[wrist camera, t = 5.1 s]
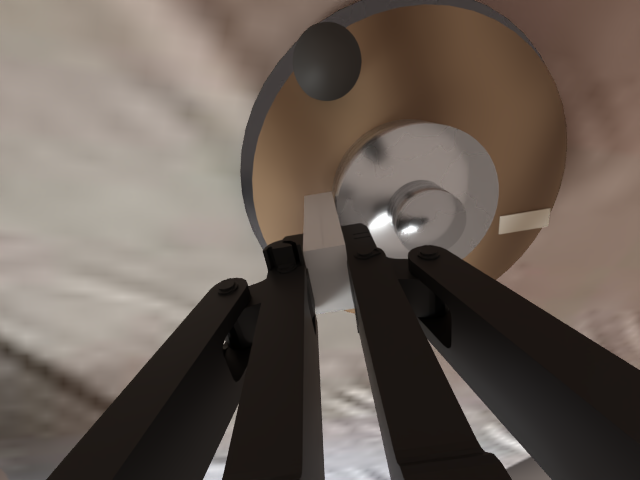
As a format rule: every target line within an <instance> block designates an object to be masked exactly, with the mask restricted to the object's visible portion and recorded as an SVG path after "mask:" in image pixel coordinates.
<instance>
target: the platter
mask: <svg viewBox="0 0 640 480" xmlns="http://www.w3.org/2000/svg"><path fill="white" fill-rule="evenodd" d="M293 70H294V71H293V72H292V74H291V75H290V76H289V78H288V79H287V81H286V82H285V84H284V85H283V86H282V88H281V89H280V91H279V92H278V94H277V95H276V97H275V99H274V101H273V103H272V105H271V107H270V109H269V111H268V113H267V115H266V117H265V120H264V123H263V126H262V129H261V131H260V134H259V137H258V142H257V146H256V151H255V156H254V163H253V176H252V185H253V201H254V206H255V211H256V216H257V220H258V223H259V226H260V229H261V232H262V235H263V237H264V239H265V241H266V243H267V245H269V244H271V243H273V242H275V241H279V240H282V239H283V238H284V237H285V236H291V235H297V234H303V229H304V196H308V195H314V194H320V193H325V192H331V191H332V187H333V182H334V177H335V174H336V171H337V168H338V166H339V164H340V162H341V160H342V158H343V157H344V155H345V153H346V152H347V151H348V149H349V148H350V147H351V146H352V145H353V144H354V143H355V142H356V141H357V140H358V139H359V138H360V137H361V136H363V135H364V134H365V133H367V132H368V131H370V130H372V129H373V128H375V127H377V126H380V125H382V124H384V123H387V122H391V121H395V120H403V119H417V120H423V121H428V122H433V123H437V124H442V125H447V126H451V127H454V128H457V129H459V130H461V131H463V132H465V133H467V134H469V135H470V136H472V137H473V138H474V139H476V140H477V141H478V142H479V143H480V144H481V145H482V146H483V147H484V148H485V150H486V151H487V153H488V154H489V155H490V157H491V159H492V161H493V163H494V165H495V169H496V172H497V176H498V183H499V198H498V205H497V209H496V212H495V216H494V218H493V221H492V223H491V225H490V227H489V229H488V231H487V233H486V234H485V236H484V237H483V239H482V240H481V241H480V243H479V244H478V245H477V246H476V247H475V248H474V249H473V250H472V251H471V252H470V253H469V254H468V255H467V256H466V257H465V258H463V260H464V261H466V262H467V263H469V264H471V265H472V266H474V267H475V268H477V269H479V270H480V271H482V272H483V273H485V274H487V275H488V276H490V277H491V278H493V279H495V280H496V279H497V278H499V277H500V276H501V275H502V274H503V273H505V272H506V271H507V270H508V269H509V268H510V267H511V266H512V265H513V264H514V263H515V262H516V261H517V260H518V259H519V258H520V257H521V256H522V255H523V253H524V252H525V251H526V250H527V248H528V247H529V246H530V245H531V243H532V242H533V241H534V239H535V238H536V236H537V235H538V233H539V232H540V230H541V229H542V227H548V223H549V216H550V212H551V210H552V208H553V206H554V203H555V200H556V197H557V195H558V192H559V189H560V186H561V182H562V177H563V173H564V169H565V161H566V151H567V132H566V121H565V115H564V110H563V104H562V101H561V98H560V95H559V92H558V90H557V87H556V84H555V82H554V80H553V78H552V76H551V74H550V73H549V71H548V69H547V67H546V65H545V64H544V62H543V61H542V60H541V59H540V57H539V56H538V55H537V53H536V52H535V51H534V49H533V48H532V47H531V46H530V45H529V44H528V43H527V42H525V41H524V40H523V39H522V38H521V37H520V36H519V35H518V34H517V33H516V32H514V31H513V30H511V29H509V28H508V27H506V26H505V25H503V24H501V23H500V22H498V21H497V20H495V19H492V18H490V17H487V16H485V15H483V14H480V13H478V12H475V11H472V10H467V9H463V8H458V7H454V6H447V5H427V4H424V5H415V6H406V7H399V8H395V9H391V10H388V11H384V12H380V13H377V14H374V15H371V16H369V17H367V18H364V19H362V20H360V21H358V22H355V23H353V24H351V25H349V26H347V27H346V28H345V27H344V26H342V25H340V24H337V23H334V22H321V23H317V24H315V25H313V26H311V27H310V28H308V29H307V30H306V31H305V32H304V33H303V34H302V35H301V37H300V38H299V40H298V42H297V43H296V46H295V49H294V53H293ZM344 311H347V312H351V313H355V308H354V309H348V310H344Z"/></svg>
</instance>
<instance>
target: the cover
mask: <svg viewBox="0 0 640 480" xmlns="http://www.w3.org/2000/svg"><path fill="white" fill-rule="evenodd" d="M332 195H333V199H334V203H335V207H336V211H337V214H338V218H339V222H340V226H345V225H351V224H357V223H362V224H364V225H366V226H367V227H368V229H369V231H370V233H371V235H372V237H373V240H374V242H375V244H376V246H377V247H378V248H381V249H382V250H383V251H384V252H385V254H386V256H387V257H389V258H395V259H408V252H409V251H410V250H412V249H414V248H416V247H419V246H423V245H434V246H439V247H442V248H444V249H447V250H448V251H450V252H451V253H453V254H455V255H456V256H458V257H459V258H461V259H463V258H465V257H466V256H467V255H468V254H469V253H470V252H471V251H472V250H473V249H474V248H475V247H476V246H477V245H478V244H479V243H480V241H481V240H482V239H483V237H484V236H485V234H486V233H487V231H488V229H489V227H490V225H491V223H492V221H493V218H494V216H495V212H496V209H497V205H498V198H499V183H498V176H497V172H496V169H495V165H494V163H493V161H492V159H491V157H490V155H489V154H488V153H487V151H486V150H485V148H484V147H483V146H482V145H481V144H480V143H479V142H478V141H477V140H476V139H474V138H473V137H472V136H470V135H469V134H467V133H465V132H463V131H461V130H459V129H457V128H454V127H451V126H447V125H442V124H437V123H433V122H428V121H423V120H417V119H403V120H395V121H391V122H387V123H384V124H382V125H380V126H377V127H375V128H373V129H372V130H370V131H368V132H367V133H365V134H364V135H363V136H361V137H360V138H359V139H358V140H357V141H356V142H355V143H354V144H353V145H352V146H351V147H350V148H349V149H348V151H347V152H346V153H345V155H344V157H343V158H342V160H341V162H340V164H339V166H338V168H337V171H336V174H335V177H334V182H333V187H332Z"/></svg>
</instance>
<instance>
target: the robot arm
mask: <svg viewBox="0 0 640 480" xmlns="http://www.w3.org/2000/svg"><path fill="white" fill-rule="evenodd" d="M263 254H264V257H265V261H266V265H267V268H268V275H267V279H265V280H263V281H261V282H259V283H256V284H253V285H251V286H248V284H247V282H246V280H244V279H242V278H232V279H231V278H229V279H227V280H223V281H221V282H220V283H218V284H216V285H215V286H214V287H213V288H211V289H210V290H209V292H208V293H207V294H206V295H205V296H204V297H203V299H202V300H201V301H200V302H199V303H198V304H197V306H196V307H195V308H194V309H193V310H192V311H191V313H190V314H189V315H188V316H187V317H186V318H185V319H184V321H183V322H182V323H181V324H180V325H179V326H178V328H177V329H176V330H175V331H174V332H173V333H172V335H171V336H170V337H169V338H168V339H167V340H166V341H165V343H164V344H163V345H162V346H161V347H160V348H159V350H158V351H157V352H156V353H155V354H154V355H153V357H152V358H151V359H150V360H149V361H148V362H147V363H146V365H145V366H144V367H143V368H142V369H141V370H140V372H139V373H138V374H137V375H136V376H135V377H134V379H133V380H132V381H131V382H130V383H129V384H128V385H127V387H126V388H125V389H124V390H123V391H122V392H121V394H120V395H119V396H118V397H117V398H116V399H115V401H114V402H113V403H112V404H111V405H110V406H109V407H108V409H107V410H106V411H105V412H104V413H103V414H102V416H101V417H100V418H99V419H98V420H97V421H96V423H95V424H94V425H93V426H92V427H91V428H90V429H89V431H88V432H87V433H86V434H85V435H84V436H83V438H82V439H81V440H80V441H79V442H78V443H77V445H76V446H75V447H74V448H73V449H72V450H71V451H70V453H69V454H68V455H67V456H66V457H65V458H64V460H63V461H62V462H61V463H60V464H59V465H58V467H57V468H56V469H55V470H54V471H53V472H52V473H51V475H50V476H49V477H48V478H47V479H46V480H203V478H204V476H205V474H206V472H207V470H208V468H209V465H210V463H211V461H212V459H213V457H214V455H215V453H216V450H217V448H218V446H219V444H220V442H221V440H222V438H223V436H224V433H225V431H226V429H227V427H228V425H229V423H230V421H231V419H232V416H233V414H234V412H235V410H236V408H237V406H238V404H239V406H238V411H237V415H236V420H235V424H234V429H233V433H232V438H231V442H230V447H229V451H228V456H227V461H226V465H225V470H224V474H223V478H222V480H325V475H324V454H323V433H322V411H321V390H320V369H319V348H318V326H317V319H316V315H315V311H316V314H323V313H329V312H335V311H342V310H348V309H354V308H355V315H356V322H357V329H358V333H359V334H360V339H361V343H362V348H363V353H364V357H365V362H366V366H367V371H368V376H369V380H370V385H371V389H372V394H373V399H374V403H375V408H376V412H377V417H378V422H379V426H380V431H381V435H382V440H383V445H384V449H385V454H386V459H387V463H388V468H389V472H390V477H391V480H512V479H511V478H510V476H509V474H508V473H507V471H506V469H505V468H504V466H503V464H502V463H501V462H500V460H499V459H498V458H497V457H496V456H495V455H494V454H492V453H488V452H485V451H484V450H483V449H482V448H481V446H480V445H479V443H478V441H477V439H476V437H475V435H474V433H473V431H472V429H471V427H470V425H469V423H468V421H467V419H466V417H465V415H464V413H463V411H462V409H461V407H460V405H459V403H458V401H457V399H456V397H455V395H454V393H453V391H452V389H451V387H450V384H449V382H448V380H447V378H446V376H445V374H444V372H443V370H442V368H441V366H440V364H439V362H438V360H437V358H436V356H435V354H434V352H433V350H432V348H431V346H430V344H429V342H428V340H429V341H430V343H431V344H432V345H433V346H434V347H435V348H436V349H437V350H438V352H439V353H440V354H441V355H442V356H443V357H444V358H445V359H446V361H447V362H448V363H449V364H450V365H451V366H452V367H453V369H454V370H455V371H456V372H457V373H458V374H459V375H460V376H461V378H462V379H463V380H464V381H465V382H466V383H467V384H468V385H469V387H470V388H471V389H472V390H473V391H474V392H475V393H476V394H477V396H478V397H479V398H480V399H481V400H482V401H483V402H484V404H485V405H486V406H487V407H488V408H489V409H490V410H491V411H492V413H493V414H494V415H495V416H496V417H497V418H498V419H499V420H500V422H501V423H502V424H503V425H504V426H505V427H506V428H507V430H508V431H509V432H510V433H511V434H512V435H513V436H514V437H515V439H516V440H517V441H518V442H519V443H520V444H521V445H522V446H523V448H524V449H525V450H526V451H527V452H528V453H529V454H530V455H531V457H532V458H533V459H534V460H535V461H536V462H537V463H538V464H539V466H540V467H541V468H542V469H543V470H544V471H545V472H546V474H547V475H548V476H549V477H550V478H551V479H552V480H640V370H639V369H637V368H635V367H634V366H632V365H631V364H629V363H627V362H626V361H624V360H623V359H621V358H619V357H618V356H616V355H615V354H613V353H611V352H610V351H608V350H607V349H605V348H603V347H602V346H600V345H599V344H597V343H595V342H594V341H592V340H591V339H589V338H587V337H586V336H584V335H583V334H581V333H579V332H578V331H576V330H575V329H573V328H571V327H570V326H568V325H567V324H565V323H563V322H562V321H560V320H559V319H557V318H555V317H554V316H552V315H551V314H549V313H547V312H546V311H544V310H543V309H541V308H539V307H538V306H536V305H535V304H533V303H531V302H530V301H528V300H527V299H525V298H523V297H522V296H520V295H519V294H517V293H515V292H514V291H512V290H511V289H509V288H507V287H506V286H504V285H503V284H501V283H499V282H498V281H496V280H495V279H493V278H491V277H490V276H488V275H487V274H485V273H483V272H482V271H480V270H479V269H477V268H475V267H474V266H472V265H471V264H469V263H467V262H466V261H464V260H463V259H461V258H459V257H458V256H456V255H455V254H453V253H451V252H450V251H448V250H447V249H444V248H442V247H439V246H434V245H423V246H419V247H416V248H414V249H412V250H410V251H409V252H408V259H395V258H389V257H387V256H386V254H385V252H384V251H383V250H382V249H381V248H378V247H377V246H376V244H375V242H374V240H373V237H372V235H371V233H370V231H369V229H368V227H367V226H366V225H364V224H362V223H357V224H351V225H345V226H340V222H339V218H338V214H337V211H336V207H335V203H334V199H333V195H332V191H331V192H325V193H320V194H314V195H308V196H304V229H303V234H297V235H291V236H285V237H284V238H283V239H282V240H279V241H275V242H273V243H271V244H269V245H268V246H266V247H265V248H264V250H263ZM427 339H428V340H427ZM224 341H226V342H225V344H224V345H223V343H224Z"/></svg>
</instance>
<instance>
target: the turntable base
mask: <svg viewBox="0 0 640 480" xmlns="http://www.w3.org/2000/svg"><path fill="white" fill-rule="evenodd" d="M424 4H427V5H447V6H454V7H458V8H463V9H467V10H472V11H475V12H478V13H480V14H483V15H485V16H487V17H490V18H492V19H495V20H497V21H498V22H500V23H501V24H503V25H505V26H506V27H508V28H509V29H511V30H513V31H514V32H516V33H517V34H518V35H519V36H520V37H521V38H522V39H523V40H524V41H525V42H527V43H528V44H529V45H530V46H531V47H532V48H533V49H534V51H535V52H536V53H537V55H538V56H539V57H540V59H541V60H542V58H541V56H540V54H539V52H538V51H537V50H536V48H535V47H534V46H533V45H532V43H531V42H530V41H529V39H528V38H527V37H526V36H525V34H524V33H523V32H522V31H520V30H519V29H518V28H517V27H516V26H515V25H514V24H513V23H512V22H511V21H510V20H508V19H507V18H506V17H504V16H503V15H501V14H499V13H498V12H496V11H495V10H493V9H492V8H490V7H488V6H487V5H484V4H482V3H479V2H477V1H475V0H361V1H359V2H357V3H354V4H352V5H350V6H348V7H346V8H343V9H341V10H339V11H337V12H336V13H334V14H332V15H331V16H329V17H328V18H326V19H325V20H323V21H322V22H334V23H337V24H340V25H342V26H344V27H345V28H346V27H347V26H349V25H351V24H353V23H355V22H358V21H360V20H362V19H364V18H367V17H369V16H371V15H374V14H377V13H380V12H384V11H388V10H391V9H395V8H399V7H406V6H415V5H424ZM320 23H321V22H320ZM297 42H298V41H297ZM297 42H296V43H297ZM296 43H295V44H294V45H293V46H292V47H291V48H290V49H289V51H288V52H287V53H286V54H285V55H284V56H283V57H282V58H281V60H280V61H279V62H278V63H277V65H276V66H275V68H274V69H273V71H272V72H271V74H270V75H269V77H268V78H267V80H266V81H265V83H264V85H263V87H262V89H261V91H260V93H259V95H258V97H257V99H256V101H255V103H254V105H253V108H252V111H251V114H250V117H249V120H248V123H247V126H246V130H245V135H244V141H243V146H242V154H241V185H242V195H243V199H244V204H245V209H246V213H247V216H248V218H249V221H250V224H251V227H252V230H253V232H254V234H255V236H256V238H257V240H258V241H259V243H260V245H261V247H262V249H263V250H264V248H265V247H266V246H268V245H267V243H266V241H265V239H264V237H263V235H262V232H261V229H260V226H259V223H258V220H257V216H256V211H255V206H254V201H253V185H252V176H253V163H254V156H255V151H256V146H257V142H258V137H259V134H260V131H261V129H262V126H263V123H264V120H265V117H266V115H267V113H268V111H269V109H270V107H271V105H272V103H273V101H274V99H275V97H276V95H277V94H278V92H279V91H280V89H281V88H282V86H283V85H284V84H285V82H286V81H287V79H288V78H289V76H290V75H291V74H292V72H293V71H294V70H293V53H294V49H295V46H296ZM542 61H543V60H542Z"/></svg>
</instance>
